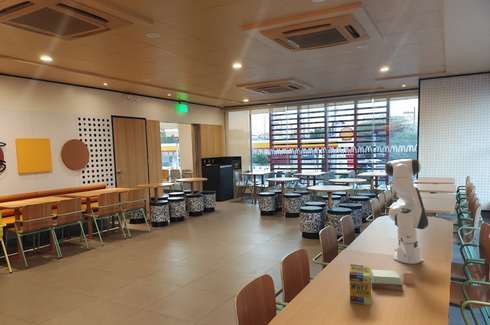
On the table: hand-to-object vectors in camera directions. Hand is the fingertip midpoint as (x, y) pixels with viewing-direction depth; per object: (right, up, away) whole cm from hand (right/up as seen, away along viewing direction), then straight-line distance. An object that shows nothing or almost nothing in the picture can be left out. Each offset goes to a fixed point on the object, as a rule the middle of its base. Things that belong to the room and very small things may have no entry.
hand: (406, 259), depth 192 cm
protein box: (-33, -16, -16) cm, 40 cm away
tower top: (-14, -11, -4) cm, 18 cm away
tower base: (-14, -15, -3) cm, 21 cm away
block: (+1, -14, +1) cm, 14 cm away
